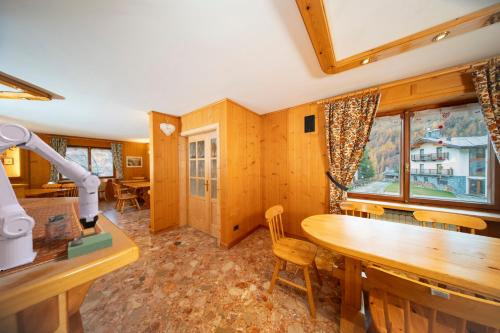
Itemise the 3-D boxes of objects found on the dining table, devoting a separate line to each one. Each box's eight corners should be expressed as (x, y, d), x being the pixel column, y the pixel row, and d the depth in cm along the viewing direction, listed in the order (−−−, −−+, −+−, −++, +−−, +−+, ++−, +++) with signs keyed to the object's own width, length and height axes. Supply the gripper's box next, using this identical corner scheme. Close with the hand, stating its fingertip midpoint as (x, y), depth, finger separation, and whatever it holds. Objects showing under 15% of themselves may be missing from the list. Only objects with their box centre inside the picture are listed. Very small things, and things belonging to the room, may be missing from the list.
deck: (68, 259, 51) (67, 246, 51) (69, 245, 59) (69, 234, 59) (112, 245, 59) (112, 234, 59) (108, 235, 68) (107, 226, 68)
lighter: (50, 241, 63) (49, 217, 63) (42, 242, 63) (41, 217, 63) (73, 233, 71) (72, 211, 71) (66, 233, 71) (65, 211, 71)
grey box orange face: (81, 247, 58) (80, 235, 58) (80, 241, 63) (80, 230, 63) (97, 242, 62) (97, 231, 62) (96, 237, 66) (96, 226, 66)
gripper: (103, 203, 64) (104, 236, 64) (100, 198, 74) (100, 226, 74) (77, 207, 59) (78, 242, 59) (78, 201, 68) (78, 231, 69)
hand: (89, 234), depth 66 cm, fingers closed
